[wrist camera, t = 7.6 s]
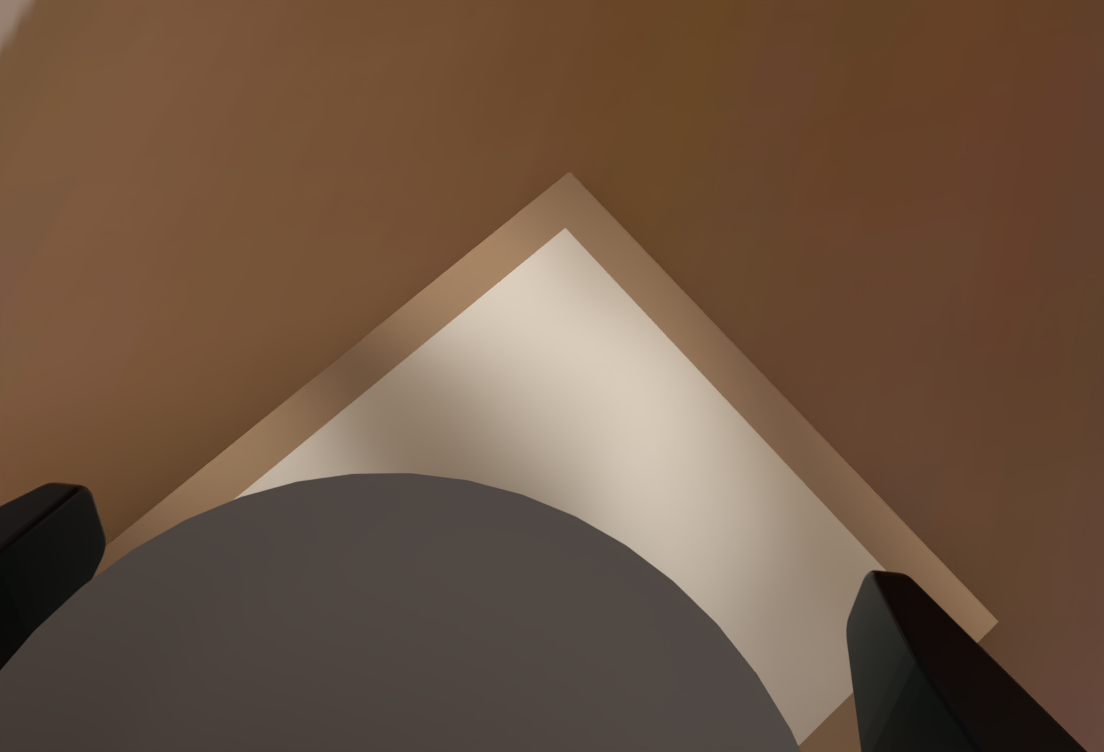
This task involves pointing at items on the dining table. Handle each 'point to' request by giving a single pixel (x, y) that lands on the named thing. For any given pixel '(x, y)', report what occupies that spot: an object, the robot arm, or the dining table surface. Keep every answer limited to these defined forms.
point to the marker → (384, 636)
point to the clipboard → (606, 444)
